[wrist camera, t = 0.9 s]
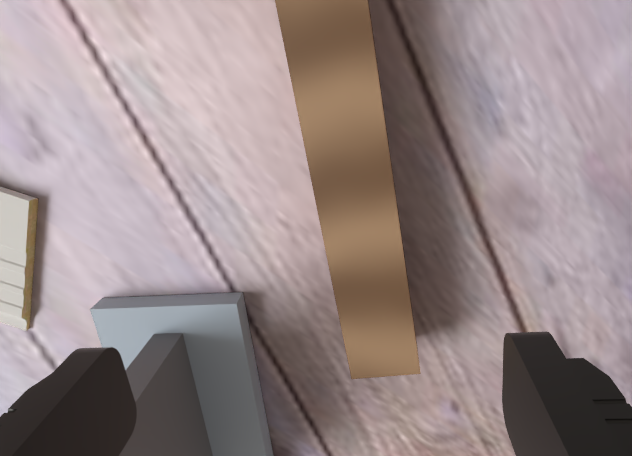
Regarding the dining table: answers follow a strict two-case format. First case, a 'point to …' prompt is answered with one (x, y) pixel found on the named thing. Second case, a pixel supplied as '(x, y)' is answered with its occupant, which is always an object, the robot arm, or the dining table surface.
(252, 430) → the fulcrum board
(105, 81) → the dining table surface
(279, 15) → the walnut bar
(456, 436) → the dining table surface
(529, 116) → the dining table surface
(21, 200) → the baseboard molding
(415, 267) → the dining table surface
